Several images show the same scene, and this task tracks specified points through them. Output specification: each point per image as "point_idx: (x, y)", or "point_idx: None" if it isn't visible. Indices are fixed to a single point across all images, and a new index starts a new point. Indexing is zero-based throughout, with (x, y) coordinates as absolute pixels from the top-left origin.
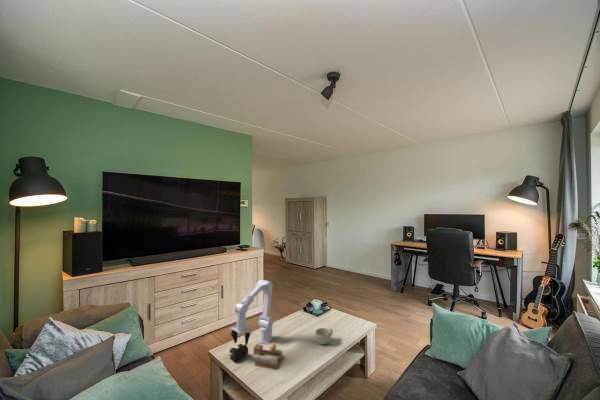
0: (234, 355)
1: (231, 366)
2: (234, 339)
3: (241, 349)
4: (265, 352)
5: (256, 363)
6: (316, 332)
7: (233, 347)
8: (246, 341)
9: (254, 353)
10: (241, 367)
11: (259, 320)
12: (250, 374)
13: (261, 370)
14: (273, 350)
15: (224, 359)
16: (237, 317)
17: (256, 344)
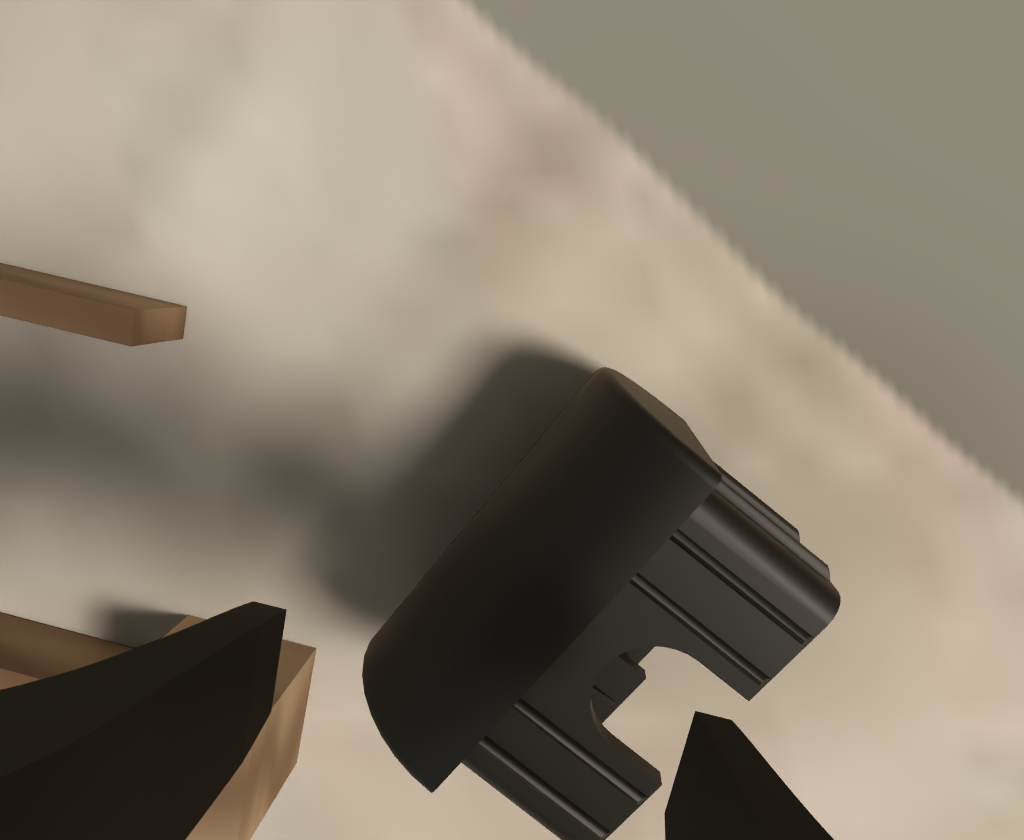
0: (640, 399)
1: (662, 251)
2: (774, 814)
3: (491, 597)
4: (65, 660)
5: (124, 300)
6: None
7: (753, 691)
8: (137, 650)
9: (289, 653)
10: (436, 230)
11: None
12: (188, 16)
13: (18, 161)
14: None
15: (886, 481)
16: None
17: None
